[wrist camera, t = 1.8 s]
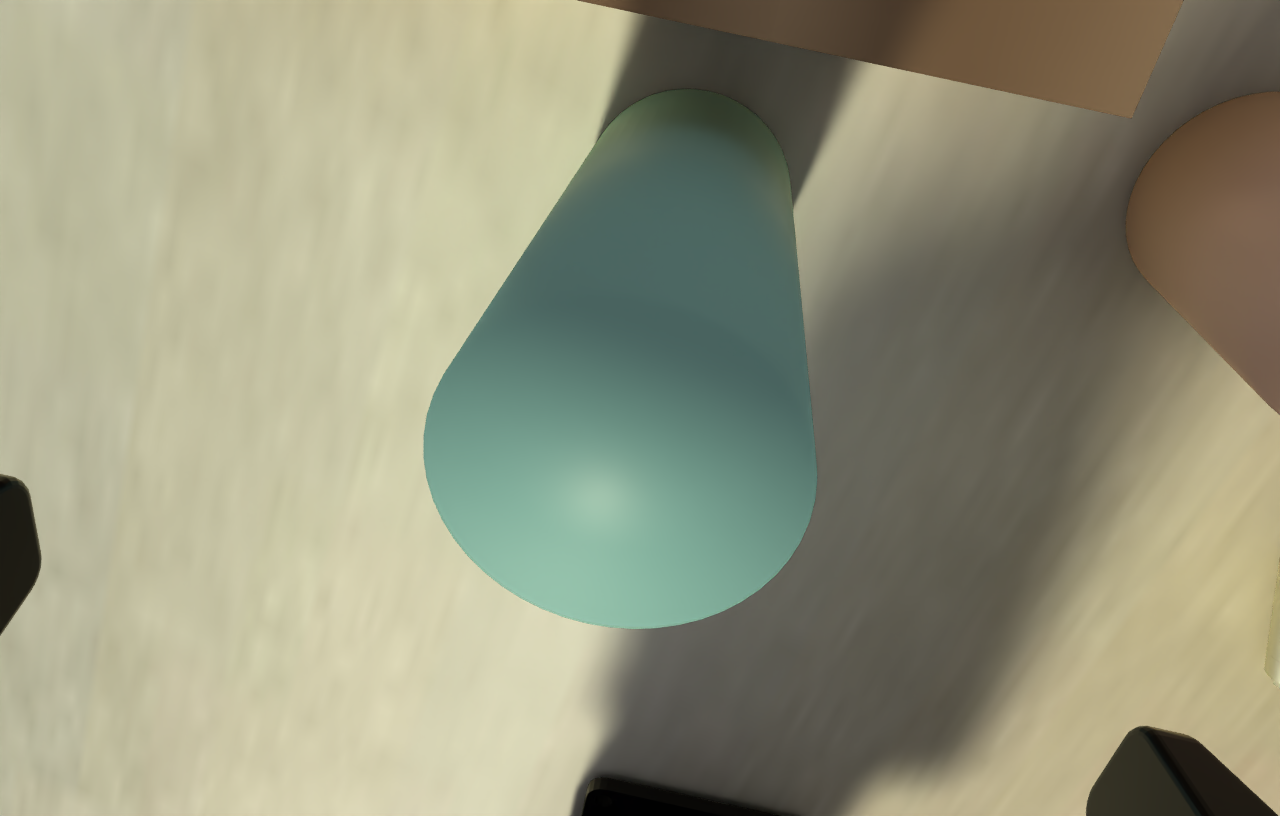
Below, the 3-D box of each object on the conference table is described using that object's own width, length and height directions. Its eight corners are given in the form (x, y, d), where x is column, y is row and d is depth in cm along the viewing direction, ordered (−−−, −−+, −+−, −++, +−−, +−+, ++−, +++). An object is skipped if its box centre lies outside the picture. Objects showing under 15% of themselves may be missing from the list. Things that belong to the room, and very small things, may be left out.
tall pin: (815, 113, 17) (869, 345, 8) (762, 310, 19) (761, 661, 10) (602, 68, 17) (438, 252, 8) (571, 268, 19) (412, 585, 10)
